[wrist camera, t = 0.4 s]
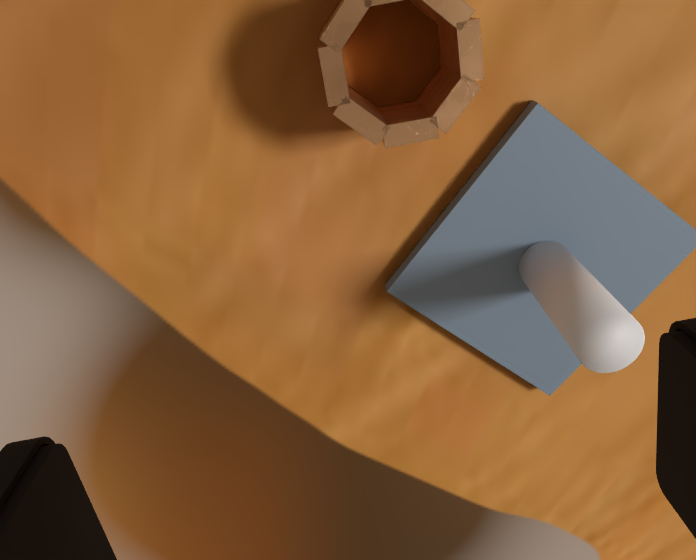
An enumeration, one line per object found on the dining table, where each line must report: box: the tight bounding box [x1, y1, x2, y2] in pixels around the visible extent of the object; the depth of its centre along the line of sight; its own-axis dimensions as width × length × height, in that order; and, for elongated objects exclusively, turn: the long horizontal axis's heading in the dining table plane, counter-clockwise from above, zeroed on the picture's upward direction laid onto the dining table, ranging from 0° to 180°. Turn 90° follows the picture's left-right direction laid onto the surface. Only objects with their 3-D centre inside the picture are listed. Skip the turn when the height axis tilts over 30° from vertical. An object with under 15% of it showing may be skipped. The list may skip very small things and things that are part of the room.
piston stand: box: [385, 100, 696, 395], centre depth 32 cm, size 13×13×10 cm
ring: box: [318, 0, 484, 148], centre depth 29 cm, size 7×7×5 cm
